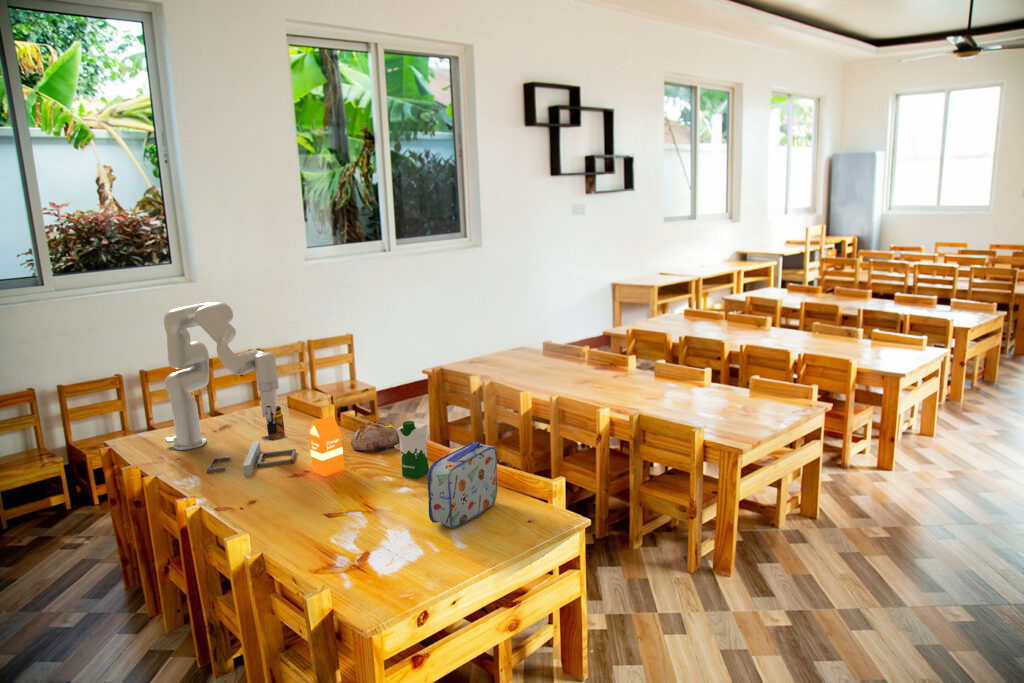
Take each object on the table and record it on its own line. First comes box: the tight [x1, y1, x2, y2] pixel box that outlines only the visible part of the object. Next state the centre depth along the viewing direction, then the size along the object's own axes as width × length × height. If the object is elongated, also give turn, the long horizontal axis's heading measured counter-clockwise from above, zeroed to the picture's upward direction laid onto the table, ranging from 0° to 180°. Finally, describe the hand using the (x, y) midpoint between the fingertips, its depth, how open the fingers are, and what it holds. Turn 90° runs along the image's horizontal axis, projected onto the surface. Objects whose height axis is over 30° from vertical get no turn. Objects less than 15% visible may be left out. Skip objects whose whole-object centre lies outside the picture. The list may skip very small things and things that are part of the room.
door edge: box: [242, 440, 262, 477], centre depth 273 cm, size 2×26×4 cm, turn 12°
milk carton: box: [396, 420, 430, 480], centre depth 253 cm, size 9×9×20 cm
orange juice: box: [308, 415, 345, 477], centre depth 260 cm, size 8×9×20 cm
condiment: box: [260, 405, 289, 443], centre depth 272 cm, size 7×8×12 cm
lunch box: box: [427, 441, 498, 529], centre depth 219 cm, size 28×10×22 cm, turn 148°
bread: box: [350, 421, 400, 453], centre depth 285 cm, size 16×20×10 cm
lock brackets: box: [205, 448, 297, 474], centre depth 273 cm, size 31×12×2 cm, turn 102°
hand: (273, 430), depth 272 cm, fingers closed on condiment, 6 cm apart
